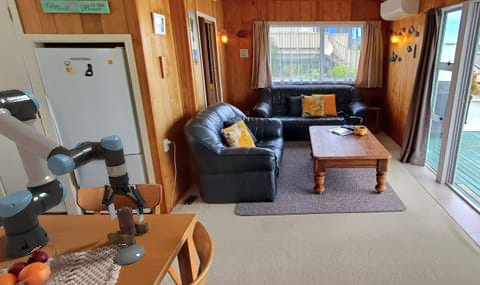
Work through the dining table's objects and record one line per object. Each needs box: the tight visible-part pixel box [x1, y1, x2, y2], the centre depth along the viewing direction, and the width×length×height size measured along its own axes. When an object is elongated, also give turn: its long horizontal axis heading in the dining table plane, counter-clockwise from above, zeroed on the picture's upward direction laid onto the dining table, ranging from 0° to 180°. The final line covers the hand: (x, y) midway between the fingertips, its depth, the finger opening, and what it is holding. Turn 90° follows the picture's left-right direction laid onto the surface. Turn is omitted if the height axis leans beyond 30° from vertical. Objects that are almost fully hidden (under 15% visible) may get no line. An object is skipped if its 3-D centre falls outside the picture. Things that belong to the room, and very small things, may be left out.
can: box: [116, 204, 137, 237], centre depth 125 cm, size 6×6×14 cm
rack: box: [107, 220, 150, 246], centre depth 126 cm, size 12×12×4 cm
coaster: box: [114, 244, 146, 266], centre depth 115 cm, size 11×11×1 cm
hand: (127, 219), depth 125 cm, fingers open, 13 cm apart
